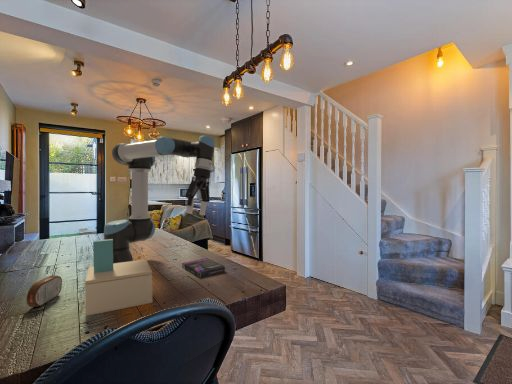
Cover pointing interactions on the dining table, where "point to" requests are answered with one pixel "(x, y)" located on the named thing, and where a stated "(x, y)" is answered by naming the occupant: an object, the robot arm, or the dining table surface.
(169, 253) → the dining table surface
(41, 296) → the tin
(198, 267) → the box
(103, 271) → the flap
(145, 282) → the carton
